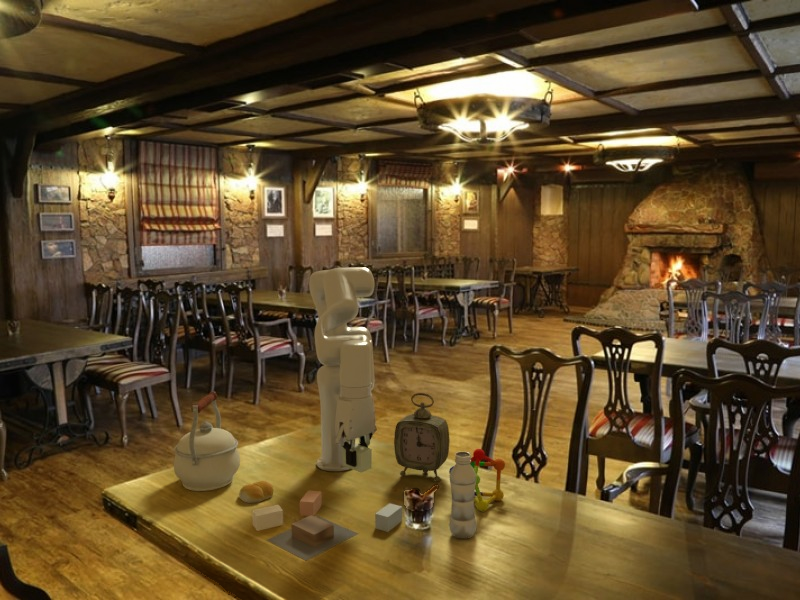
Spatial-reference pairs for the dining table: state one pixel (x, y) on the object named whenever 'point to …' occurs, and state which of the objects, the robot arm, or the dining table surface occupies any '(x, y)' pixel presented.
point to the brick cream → (267, 517)
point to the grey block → (388, 517)
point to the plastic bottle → (462, 497)
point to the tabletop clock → (421, 440)
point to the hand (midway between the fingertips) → (357, 462)
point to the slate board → (305, 549)
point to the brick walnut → (312, 530)
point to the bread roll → (256, 492)
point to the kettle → (206, 452)
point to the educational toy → (475, 463)
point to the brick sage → (360, 458)
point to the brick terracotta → (310, 503)
